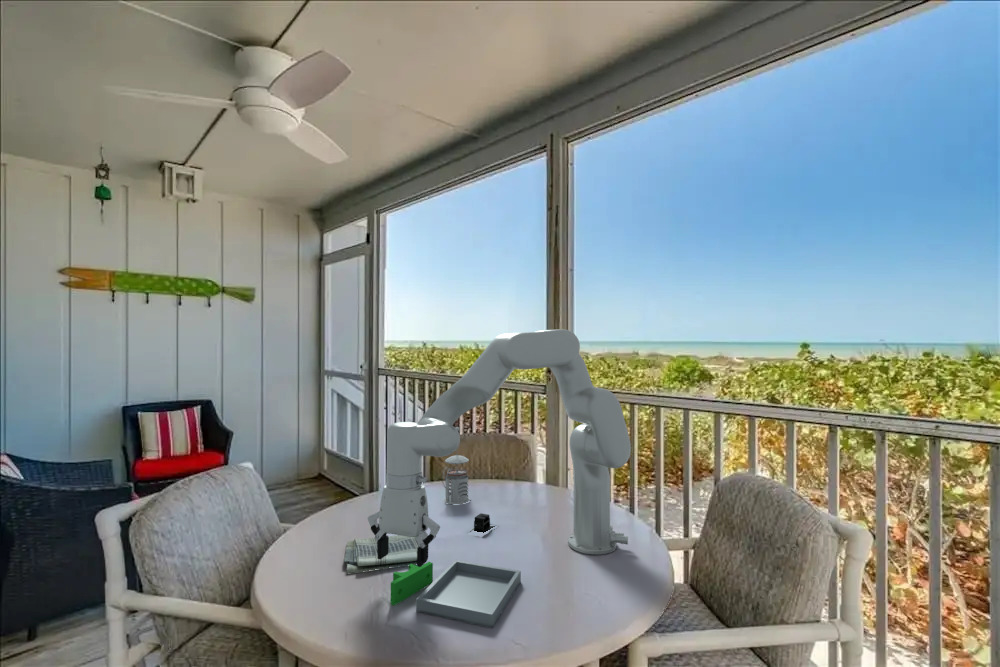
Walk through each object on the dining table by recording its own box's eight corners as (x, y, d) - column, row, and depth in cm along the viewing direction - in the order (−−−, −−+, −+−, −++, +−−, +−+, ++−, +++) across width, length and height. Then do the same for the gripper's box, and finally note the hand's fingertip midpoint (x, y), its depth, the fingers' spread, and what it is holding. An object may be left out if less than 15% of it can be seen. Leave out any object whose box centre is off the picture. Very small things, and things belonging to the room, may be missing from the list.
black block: (482, 542, 125) (482, 525, 125) (459, 537, 129) (459, 521, 129) (502, 526, 136) (502, 511, 137) (481, 522, 140) (481, 507, 140)
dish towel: (415, 538, 128) (415, 526, 129) (425, 566, 111) (425, 553, 112) (344, 546, 123) (344, 534, 123) (343, 578, 106) (343, 564, 106)
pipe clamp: (420, 579, 105) (420, 558, 105) (432, 584, 103) (432, 562, 103) (381, 600, 96) (382, 577, 96) (394, 606, 94) (394, 583, 94)
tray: (520, 582, 103) (520, 570, 103) (492, 628, 86) (492, 614, 86) (455, 570, 108) (455, 559, 108) (416, 612, 91) (416, 599, 91)
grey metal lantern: (476, 499, 160) (476, 426, 161) (456, 509, 150) (456, 431, 151) (454, 494, 165) (454, 423, 166) (432, 503, 155) (433, 428, 156)
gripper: (447, 480, 102) (446, 559, 101) (379, 472, 107) (378, 547, 107) (431, 489, 94) (429, 575, 94) (359, 480, 100) (357, 561, 100)
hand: (402, 560), depth 100 cm, fingers open, 9 cm apart
